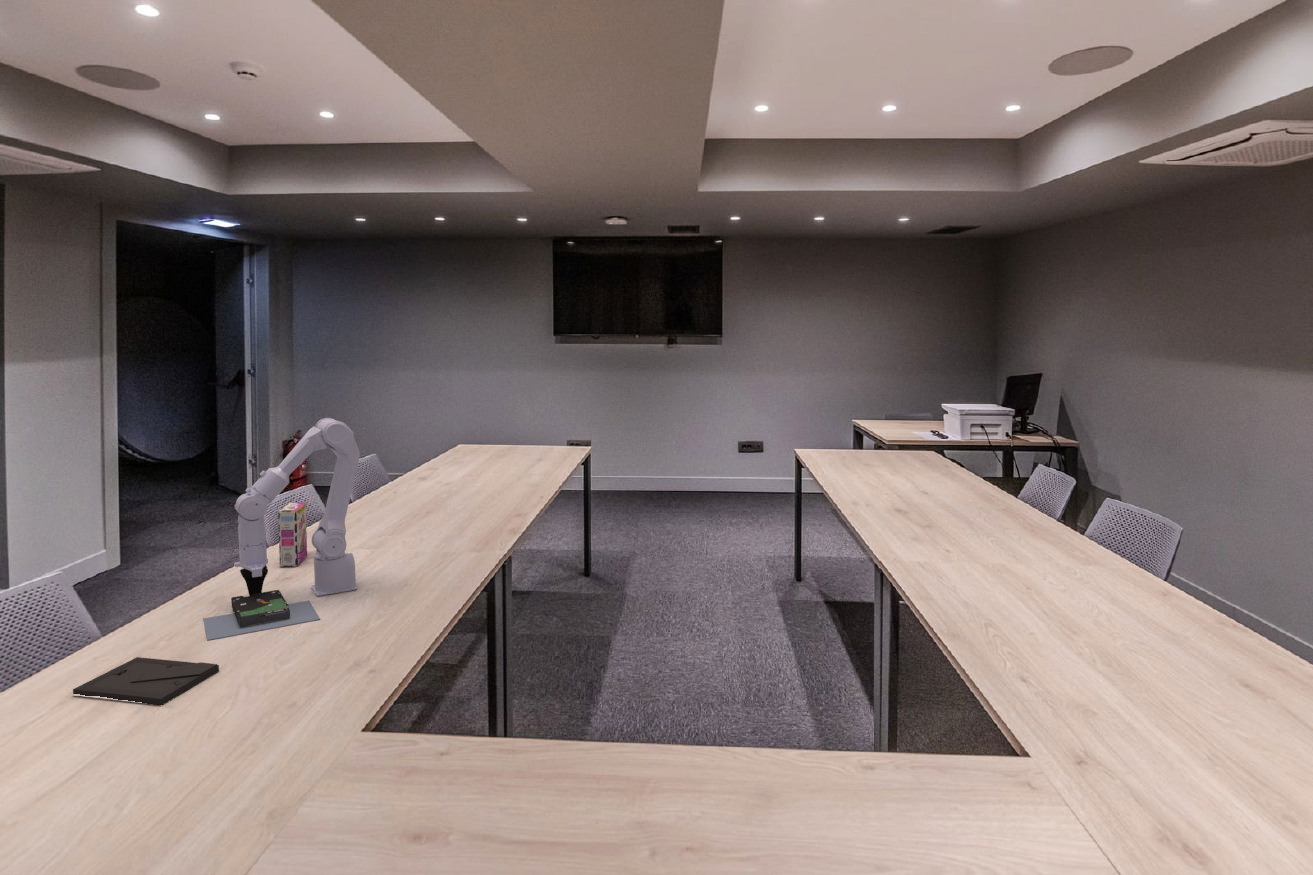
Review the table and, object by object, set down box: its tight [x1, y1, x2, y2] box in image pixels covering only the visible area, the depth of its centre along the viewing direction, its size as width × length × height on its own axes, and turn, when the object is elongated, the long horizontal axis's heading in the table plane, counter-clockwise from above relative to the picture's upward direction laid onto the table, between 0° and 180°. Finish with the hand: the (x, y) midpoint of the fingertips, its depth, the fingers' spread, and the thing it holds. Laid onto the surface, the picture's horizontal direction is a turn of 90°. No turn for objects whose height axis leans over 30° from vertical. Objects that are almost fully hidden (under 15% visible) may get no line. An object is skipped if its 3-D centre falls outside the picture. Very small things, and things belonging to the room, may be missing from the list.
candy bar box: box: [277, 502, 308, 568], centre depth 203 cm, size 11×5×16 cm, turn 13°
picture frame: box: [72, 656, 220, 706], centre depth 131 cm, size 13×2×18 cm
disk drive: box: [230, 589, 290, 627], centre depth 164 cm, size 10×3×15 cm
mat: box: [203, 600, 321, 642], centre depth 161 cm, size 22×14×1 cm, turn 125°
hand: (255, 597), depth 171 cm, fingers closed
